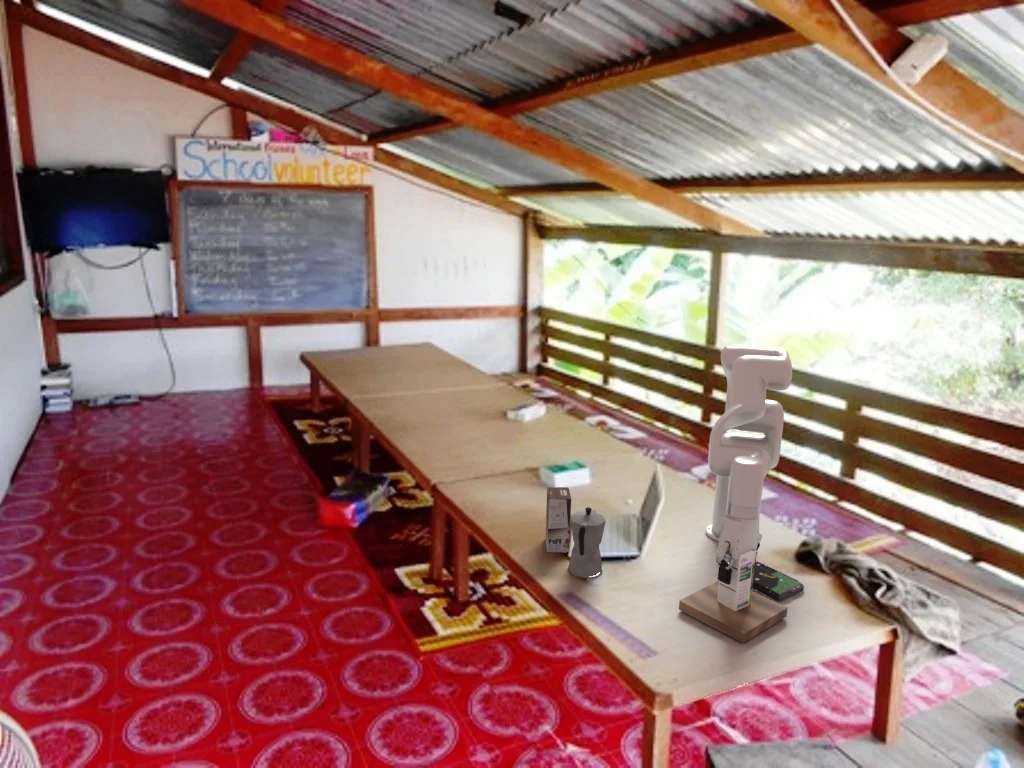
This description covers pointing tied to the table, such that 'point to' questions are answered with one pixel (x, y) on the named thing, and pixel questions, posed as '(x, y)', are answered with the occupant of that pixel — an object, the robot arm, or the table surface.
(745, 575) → the syrup box
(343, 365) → the table surface
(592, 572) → the coffeepot
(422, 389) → the table surface
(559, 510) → the coffee box
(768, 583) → the disk drive
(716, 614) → the walnut stand
